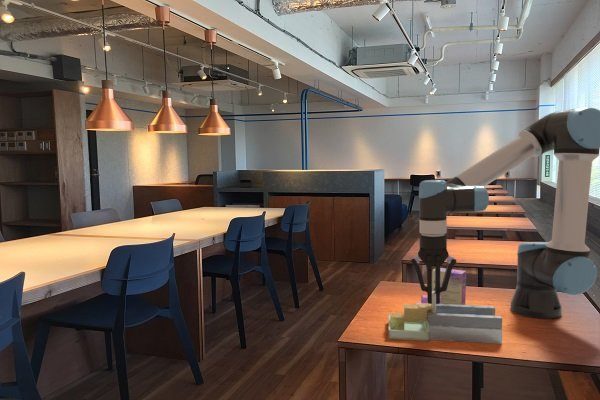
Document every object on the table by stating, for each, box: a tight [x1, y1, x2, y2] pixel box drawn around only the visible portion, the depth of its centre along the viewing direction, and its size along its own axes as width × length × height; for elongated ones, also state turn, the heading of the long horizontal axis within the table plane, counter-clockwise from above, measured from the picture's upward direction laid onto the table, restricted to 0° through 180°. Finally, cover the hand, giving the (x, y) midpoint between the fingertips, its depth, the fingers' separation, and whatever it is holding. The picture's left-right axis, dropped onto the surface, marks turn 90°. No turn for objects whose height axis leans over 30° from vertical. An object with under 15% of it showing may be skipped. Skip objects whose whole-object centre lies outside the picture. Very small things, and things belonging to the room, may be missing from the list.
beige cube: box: [417, 302, 433, 321], centre depth 142 cm, size 4×4×4 cm
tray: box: [388, 313, 430, 342], centre depth 143 cm, size 11×14×2 cm
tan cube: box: [403, 303, 419, 322], centre depth 142 cm, size 4×4×4 cm
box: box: [432, 267, 467, 305], centre depth 169 cm, size 10×6×12 cm, turn 58°
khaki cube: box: [390, 312, 404, 330], centre depth 144 cm, size 4×4×4 cm
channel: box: [426, 304, 503, 345], centre depth 140 cm, size 20×12×7 cm, turn 80°
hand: (433, 314), depth 141 cm, fingers closed
